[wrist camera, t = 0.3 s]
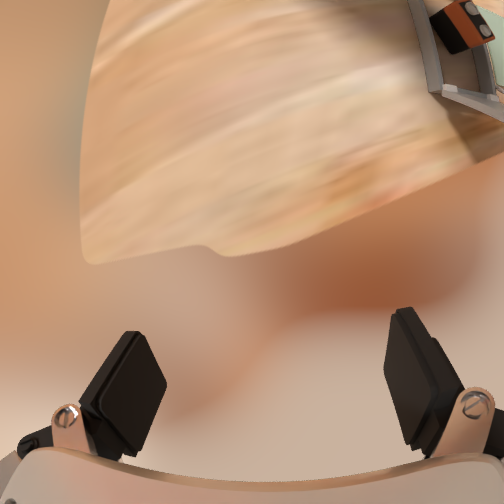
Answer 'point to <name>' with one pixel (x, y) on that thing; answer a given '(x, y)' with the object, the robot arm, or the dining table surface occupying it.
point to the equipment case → (433, 61)
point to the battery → (461, 26)
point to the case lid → (478, 103)
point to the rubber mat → (495, 42)
